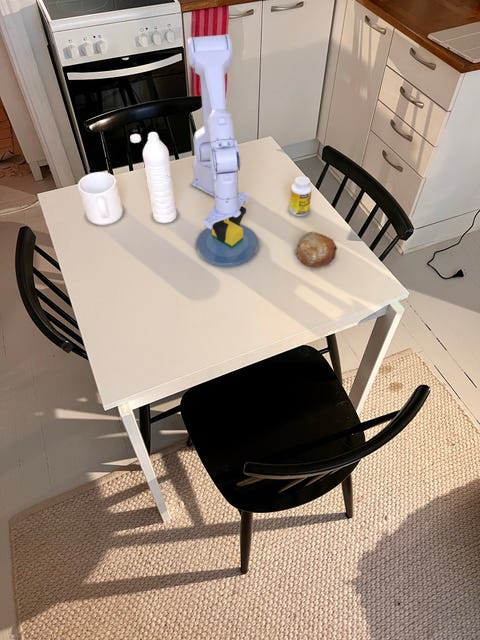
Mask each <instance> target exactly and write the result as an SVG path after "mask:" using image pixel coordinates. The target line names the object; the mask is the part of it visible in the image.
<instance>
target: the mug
mask: <svg viewBox="0 0 480 640" xmlns="http://www.w3.org/2000/svg"><path fill="white" fill-rule="evenodd" d="M115 177H116V176H114V175H113V174H111V173H109V172H105V171H97V172H96V171H95V172H91V173H88V174H86V175H84V176H83V177H81V178H80V179H79V181H78V183H77V188H78V192H79V194H80V199H81V201H82V205H83V208H84V212H85V215H86V217H87V220H88V221H89V222H90V223H92V224H94V225H97V226H106V225H107V226H108V225H111V224H113V223H116V222H117V221H118V220H120V218H121V217H122V216H123V214H124V208H123V205H122V200H121V196H120V192H119V188H118V184H117V183H118V182H117V178H115Z"/></svg>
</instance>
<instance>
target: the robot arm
mask: <svg viewBox="0 0 480 640" xmlns="http://www.w3.org/2000/svg"><path fill="white" fill-rule="evenodd" d="M186 43H187V45H186V47H187V56H188V64H189V66H190V68H191V69H194V73H195V74H196V75H198V76H199V78H200V79H199V80H200V94H201V108H202V124H203V126H201V127H200V128H199V129H197V130H196V131H195V132H194V135H193V148H194V155H195V157H194V159H193V163H192V173H193V183H191V185H192V186H193V187H195V188H197V189H199V190H200V191H202V192H204V193H206V194H208V195H210V196H212V197H213V198H214V206H213V207H212V209H211V211H210V212H209V214H208V215H207V216H206V217H205V219H204V220H203V226H204V227H205V228H209V229H211V228H213V229H214V231H215V233H216V236H217V239H218V240H219V241H221V242H225V239H226V230H227V227H228V225H229V224H227V223H225V222H224V219H227V220H229V221H231V222H233V223H234V224H236V225H238V226H239V225H240V224H241V222H242V220H243V218H244V216H245V214H247V208H246V207H245V206H243V205H244V204H246V203H248V202H249V194H247V193H245V192H243V191H242V192H241V193H239V171H241V165H242V163H241V162H242V161H241V152H240V149H239V145H238V141H237V139H236V135H235V126H234V119H233V115H232V114H231V113H230V112H229V111H228V110H227V100H226V99H227V98H226V80H225V79H226V77H225V75H226V74H227V73H228V72H229V71H230V69H231V64H232V63H233V60H234V59H233V58H234V52H233V51H234V50H233V41H232V38H231V35H229V34H228V33H226V34H221V35H220V34H219V35H218V34H217V35H205V36H189V37H188V38H187V41H186Z"/></svg>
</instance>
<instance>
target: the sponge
mask: <svg viewBox="0 0 480 640" xmlns="http://www.w3.org/2000/svg"><path fill="white" fill-rule="evenodd" d="M224 222H225V223H227V224H229V225H228V227H227V230H226V239H225V242H221V241H220V242H221V243H223V244H225V245H226V246H228V247H230V248H231V249H232V248H234V247H235V246H236V245H237V244H239V243H240V242H241V241H243V228H242V227H240V226H238V225H236V224H234V223H233V222H231V221H229V219H228V218H227V219H224ZM212 237H213V238H214V239H216V240H218V239H217V236H216V233H215V231H214V229H213V228H212ZM218 241H219V240H218Z"/></svg>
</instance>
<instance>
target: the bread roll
mask: <svg viewBox="0 0 480 640" xmlns="http://www.w3.org/2000/svg"><path fill="white" fill-rule="evenodd" d="M337 250H338V247H337V245H336V243H335V241H334V239H333V238H331V237H329V236H327V235H325V234H322V233H320V232H316V231H309V232H306V233H305V234H304V235H303V236H301V238H300V239H299V240H298V244H297V249H296V250H295V255H297V259H298V260H299V262H300V263H301V264H302V265H303V266H305V267H308V268H313V269H317V268H323V267H325V266H327V265H329V264H330V263H331V262H333V260H334V259H335V257H336V253H337Z"/></svg>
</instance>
